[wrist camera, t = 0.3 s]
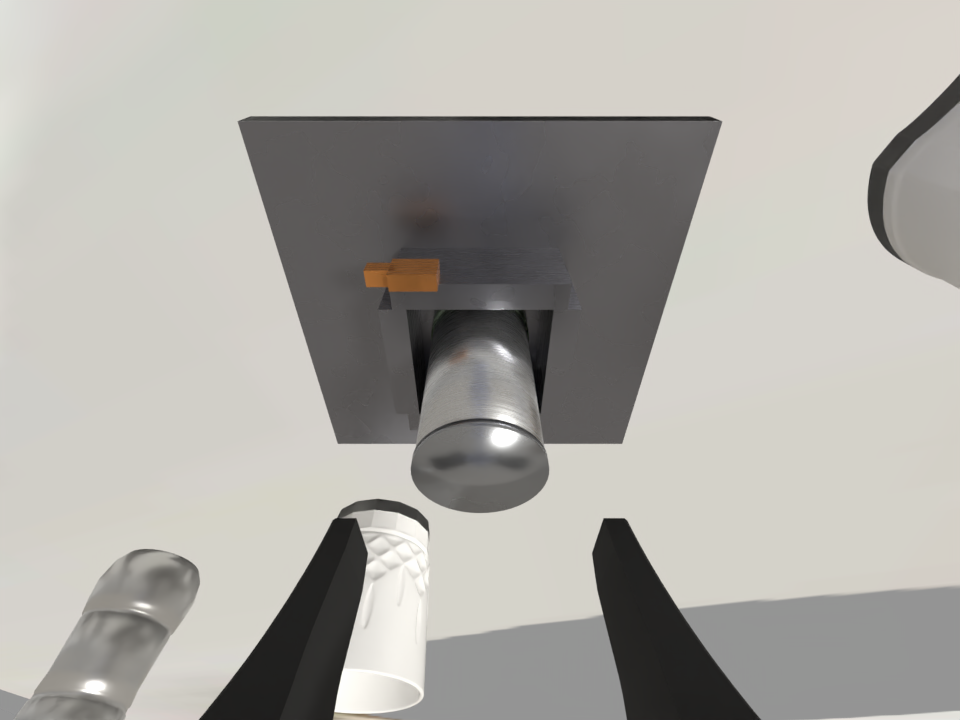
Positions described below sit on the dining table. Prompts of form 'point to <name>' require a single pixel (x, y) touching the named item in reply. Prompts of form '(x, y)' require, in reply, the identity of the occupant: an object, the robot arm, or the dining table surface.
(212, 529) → the dining table surface
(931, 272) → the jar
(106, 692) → the plastic bottle
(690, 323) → the dining table surface
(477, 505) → the silver metal canister
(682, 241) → the stand base
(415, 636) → the white cup
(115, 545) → the dining table surface
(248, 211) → the dining table surface
